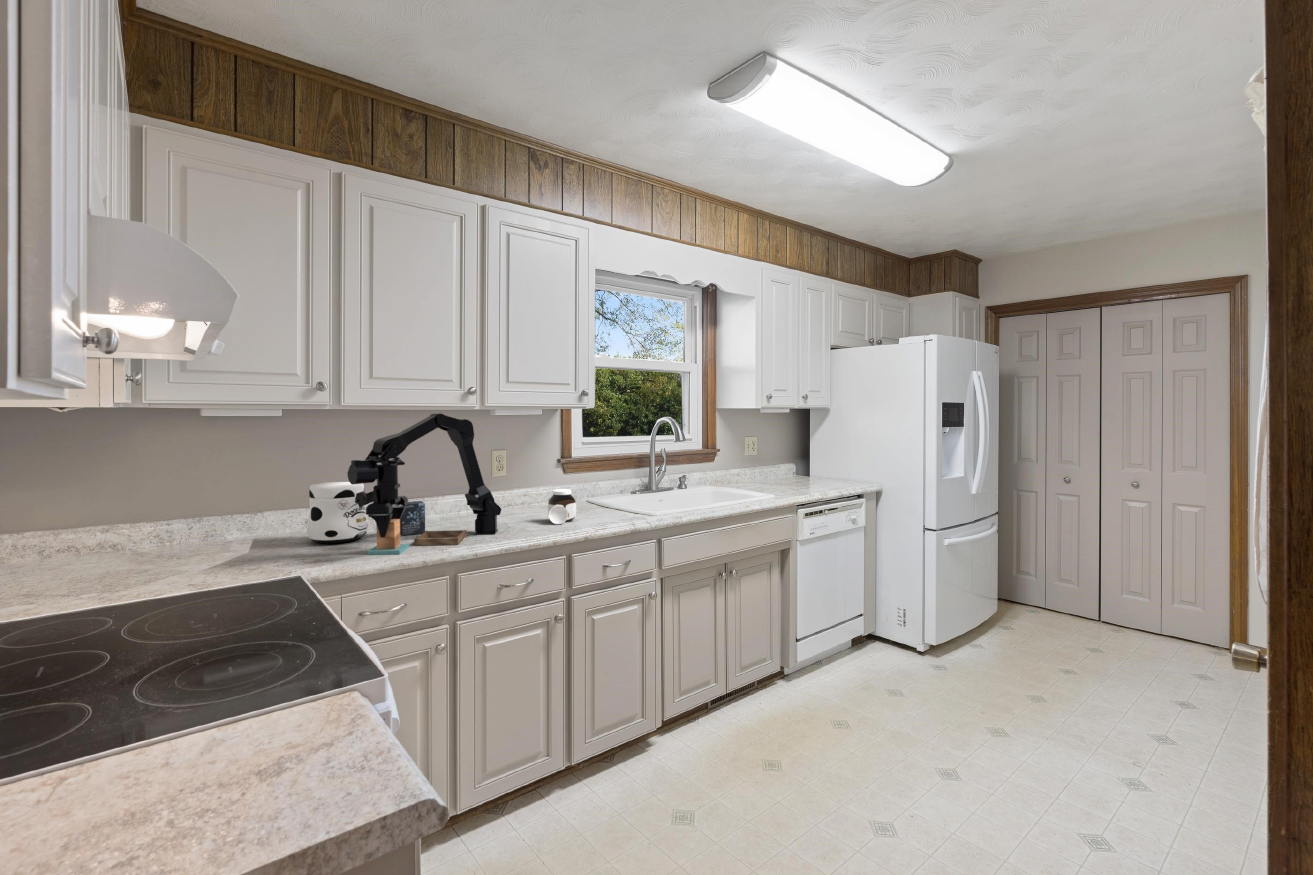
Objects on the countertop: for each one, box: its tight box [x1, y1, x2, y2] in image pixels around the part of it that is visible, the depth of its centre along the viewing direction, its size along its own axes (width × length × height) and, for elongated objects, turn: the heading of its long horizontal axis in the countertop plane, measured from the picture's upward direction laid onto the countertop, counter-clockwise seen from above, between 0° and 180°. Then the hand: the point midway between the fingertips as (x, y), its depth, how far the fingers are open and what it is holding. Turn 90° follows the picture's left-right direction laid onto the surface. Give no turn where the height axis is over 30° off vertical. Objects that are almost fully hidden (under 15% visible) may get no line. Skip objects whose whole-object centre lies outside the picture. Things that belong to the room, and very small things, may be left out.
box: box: [400, 500, 426, 537], centre depth 207 cm, size 8×6×11 cm
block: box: [375, 519, 401, 550], centre depth 181 cm, size 5×5×8 cm
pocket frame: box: [413, 529, 468, 547], centre depth 195 cm, size 13×13×2 cm
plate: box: [366, 543, 410, 556], centre depth 181 cm, size 9×9×1 cm
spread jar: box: [547, 488, 577, 525], centre depth 228 cm, size 12×11×12 cm
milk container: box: [306, 481, 369, 544], centre depth 195 cm, size 17×17×18 cm
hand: (388, 534), depth 181 cm, fingers open, 9 cm apart
